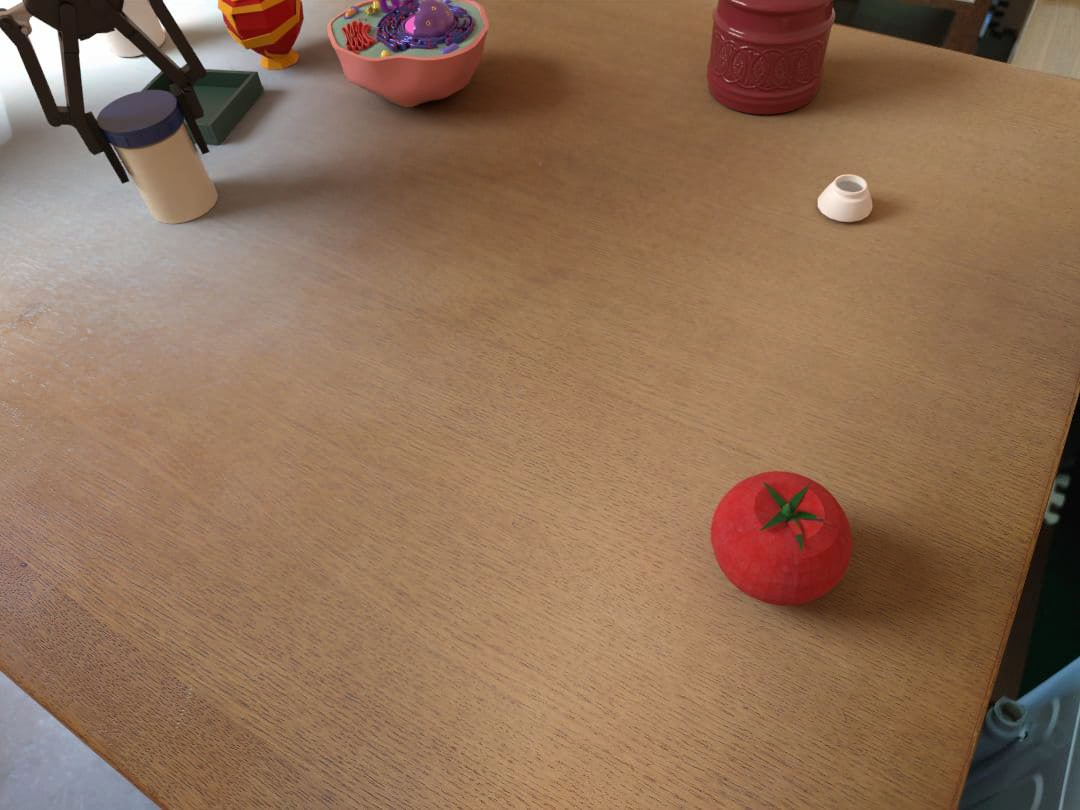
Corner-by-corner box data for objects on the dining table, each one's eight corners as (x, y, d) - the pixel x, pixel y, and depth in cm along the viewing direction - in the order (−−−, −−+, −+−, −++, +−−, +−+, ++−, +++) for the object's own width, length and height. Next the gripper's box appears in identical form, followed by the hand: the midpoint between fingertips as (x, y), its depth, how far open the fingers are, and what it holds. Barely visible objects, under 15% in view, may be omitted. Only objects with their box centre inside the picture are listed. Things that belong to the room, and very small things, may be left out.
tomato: (825, 644, 49) (856, 588, 43) (690, 598, 52) (700, 539, 46) (848, 529, 54) (878, 465, 48) (723, 493, 57) (737, 427, 51)
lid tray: (123, 137, 94) (112, 118, 92) (174, 85, 102) (165, 66, 100) (219, 145, 92) (210, 125, 90) (264, 91, 99) (257, 71, 97)
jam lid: (113, 157, 74) (104, 141, 73) (98, 122, 79) (89, 106, 77) (193, 129, 77) (185, 114, 75) (173, 97, 81) (166, 81, 80)
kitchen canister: (723, 53, 97) (741, -109, 83) (829, 68, 93) (867, -99, 79) (690, 106, 90) (705, -61, 76) (804, 125, 85) (841, -47, 72)
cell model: (390, 47, 104) (369, -44, 95) (522, 71, 97) (513, -24, 89) (314, 111, 95) (283, 18, 86) (454, 143, 88) (436, 46, 80)
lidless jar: (817, 223, 75) (871, 227, 74) (823, 198, 73) (879, 201, 72) (816, 192, 78) (868, 195, 77) (822, 166, 76) (876, 169, 75)
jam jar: (138, 220, 83) (87, 134, 75) (172, 181, 88) (128, 95, 80) (197, 226, 82) (152, 138, 74) (229, 185, 86) (189, 98, 78)
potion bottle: (324, 67, 102) (287, -57, 90) (245, 87, 100) (197, -38, 88) (311, 34, 108) (275, -87, 97) (237, 51, 106) (191, -69, 95)
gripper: (-98, -31, 58) (68, 216, 76) (172, -104, 64) (268, 143, 82) (-102, -61, 63) (57, 180, 80) (151, -126, 68) (247, 112, 86)
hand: (163, 161), depth 81 cm, fingers closed on jam lid, 8 cm apart
